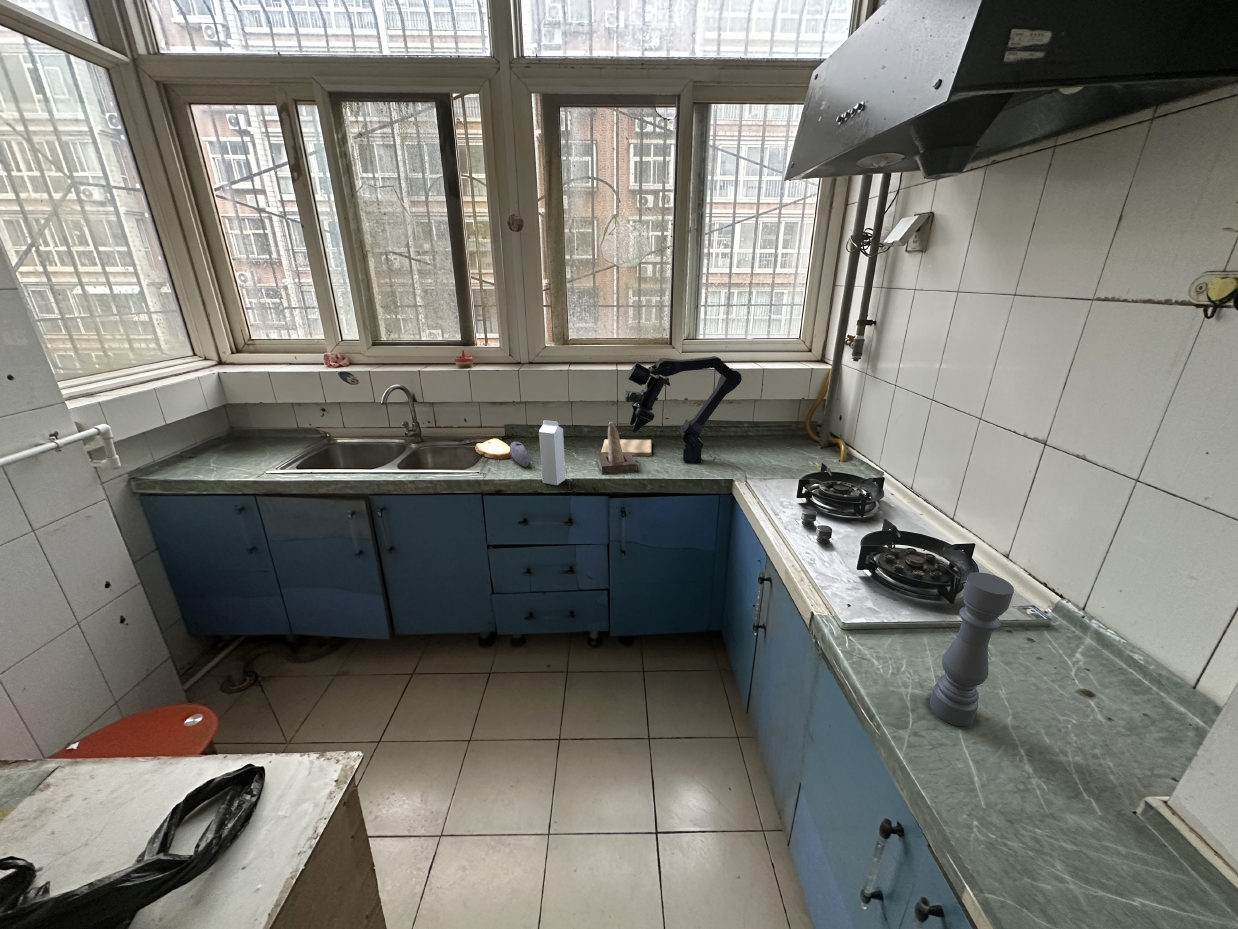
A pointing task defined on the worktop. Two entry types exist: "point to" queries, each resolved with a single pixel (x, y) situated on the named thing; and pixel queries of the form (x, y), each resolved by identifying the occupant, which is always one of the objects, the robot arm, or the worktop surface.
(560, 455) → the milk
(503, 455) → the slice of bread
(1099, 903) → the worktop surface
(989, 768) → the worktop surface
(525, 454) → the perforated stone tool
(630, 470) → the holder
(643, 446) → the board
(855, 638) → the worktop surface
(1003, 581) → the candle holder
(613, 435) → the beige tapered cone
